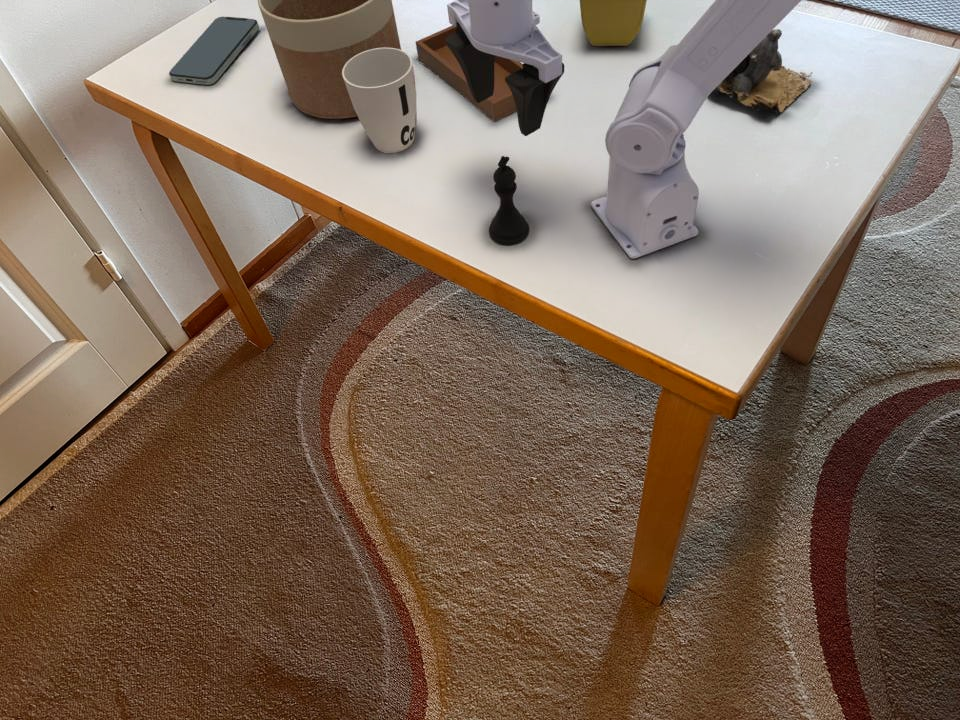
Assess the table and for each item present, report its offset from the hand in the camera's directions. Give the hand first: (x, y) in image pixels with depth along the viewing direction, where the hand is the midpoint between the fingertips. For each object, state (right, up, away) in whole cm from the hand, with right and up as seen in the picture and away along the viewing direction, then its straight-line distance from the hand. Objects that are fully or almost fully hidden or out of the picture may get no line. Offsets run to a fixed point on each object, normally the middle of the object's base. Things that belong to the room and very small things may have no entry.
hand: (506, 113), depth 74 cm
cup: (-14, +2, +16) cm, 21 cm away
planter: (-21, +12, +24) cm, 34 cm away
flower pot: (+15, +19, +25) cm, 35 cm away
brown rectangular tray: (-3, +13, +22) cm, 26 cm away
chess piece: (0, -11, +5) cm, 12 cm away
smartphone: (-42, +20, +32) cm, 56 cm away
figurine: (+31, +8, +15) cm, 35 cm away
